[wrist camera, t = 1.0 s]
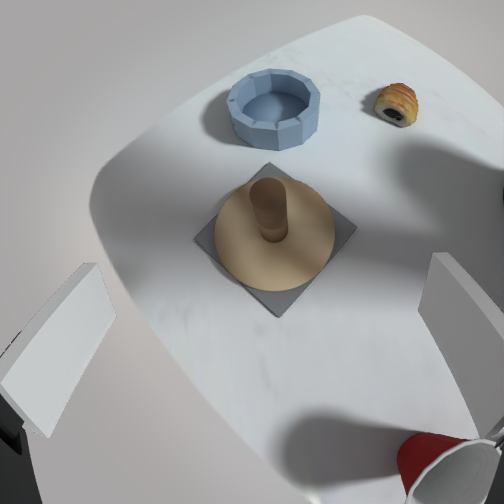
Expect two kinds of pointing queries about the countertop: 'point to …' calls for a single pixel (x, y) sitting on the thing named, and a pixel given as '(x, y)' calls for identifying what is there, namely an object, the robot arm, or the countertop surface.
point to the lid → (274, 234)
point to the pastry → (397, 104)
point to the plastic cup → (447, 469)
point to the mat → (282, 299)
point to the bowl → (274, 109)
